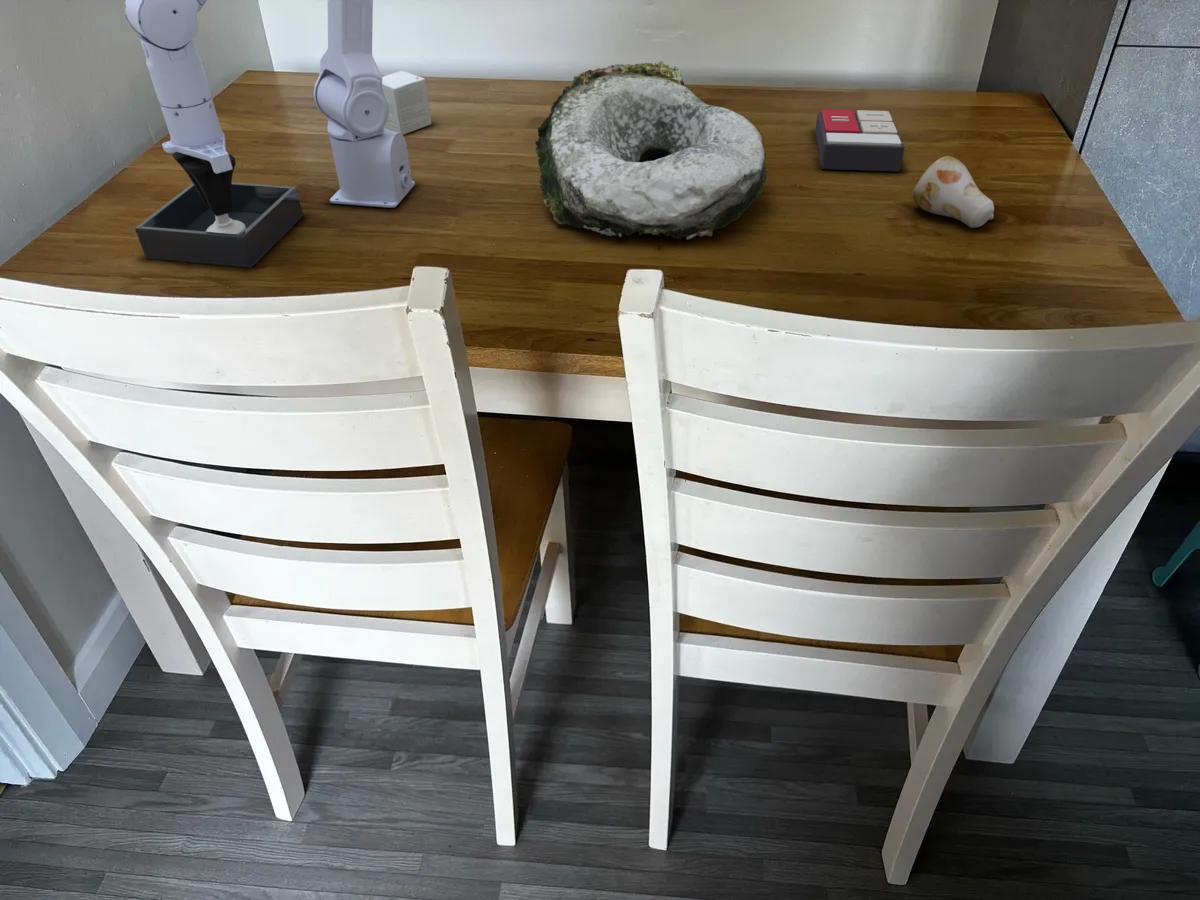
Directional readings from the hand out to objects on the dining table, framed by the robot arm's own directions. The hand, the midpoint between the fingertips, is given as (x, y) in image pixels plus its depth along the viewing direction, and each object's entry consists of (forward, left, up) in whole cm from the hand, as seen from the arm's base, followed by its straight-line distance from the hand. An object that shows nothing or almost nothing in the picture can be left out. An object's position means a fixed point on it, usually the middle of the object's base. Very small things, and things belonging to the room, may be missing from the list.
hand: (219, 209), depth 113 cm
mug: (-91, -21, -4) cm, 93 cm away
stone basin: (-52, -19, -4) cm, 55 cm away
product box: (-9, -40, -4) cm, 41 cm away
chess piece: (0, 0, -3) cm, 3 cm away
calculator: (-79, -41, -4) cm, 89 cm away
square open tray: (0, 0, -4) cm, 4 cm away
